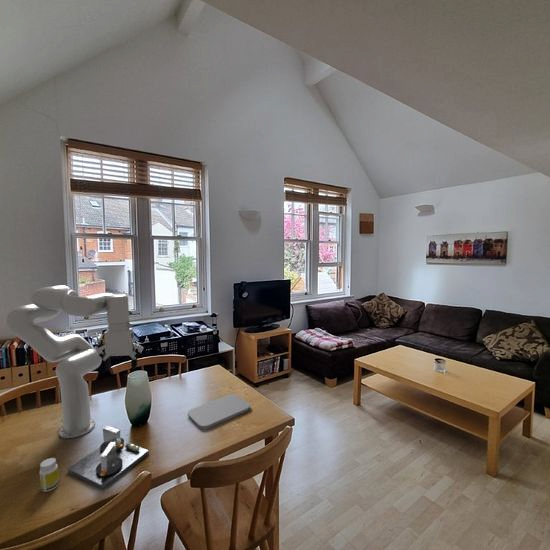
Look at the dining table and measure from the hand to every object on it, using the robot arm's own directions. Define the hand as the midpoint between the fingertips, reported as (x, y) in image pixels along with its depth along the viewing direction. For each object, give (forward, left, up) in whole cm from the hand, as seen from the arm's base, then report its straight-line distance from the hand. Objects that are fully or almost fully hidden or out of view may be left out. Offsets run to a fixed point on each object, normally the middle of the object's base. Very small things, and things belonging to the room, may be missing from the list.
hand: (121, 368), depth 120 cm
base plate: (+8, -13, -28) cm, 32 cm away
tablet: (+25, +30, -29) cm, 49 cm away
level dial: (+12, -16, -27) cm, 33 cm away
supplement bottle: (0, -28, -28) cm, 40 cm away
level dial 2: (+3, -8, -27) cm, 28 cm away
